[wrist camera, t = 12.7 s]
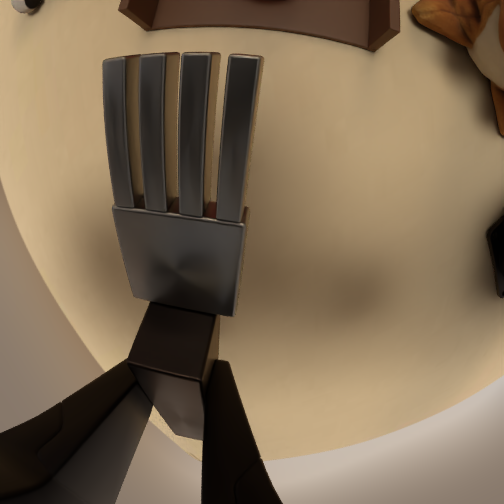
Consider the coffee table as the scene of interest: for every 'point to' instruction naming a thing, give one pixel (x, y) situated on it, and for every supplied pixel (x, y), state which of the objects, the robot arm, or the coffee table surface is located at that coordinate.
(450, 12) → the stuffed squirrel
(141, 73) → the fork
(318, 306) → the coffee table surface
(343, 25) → the serving tray
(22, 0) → the gaming controller
